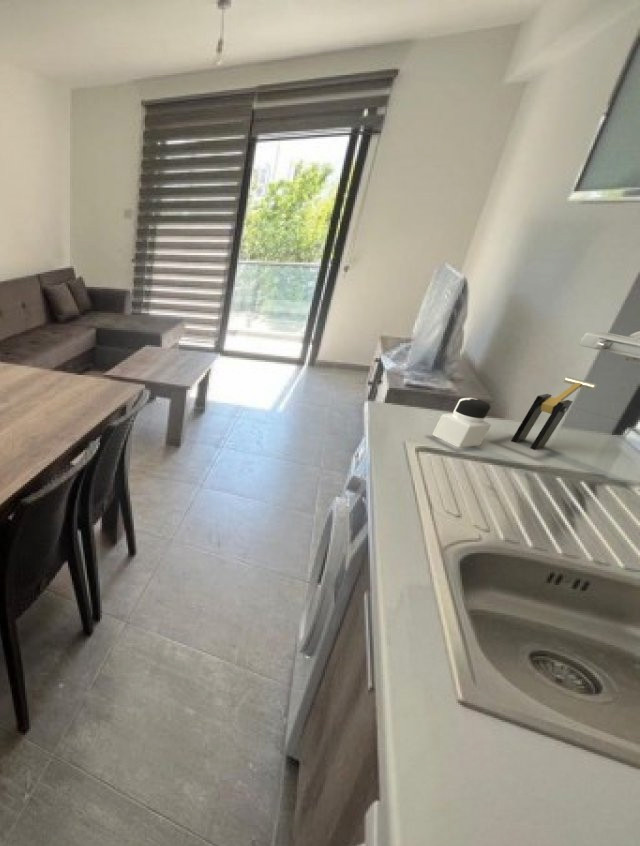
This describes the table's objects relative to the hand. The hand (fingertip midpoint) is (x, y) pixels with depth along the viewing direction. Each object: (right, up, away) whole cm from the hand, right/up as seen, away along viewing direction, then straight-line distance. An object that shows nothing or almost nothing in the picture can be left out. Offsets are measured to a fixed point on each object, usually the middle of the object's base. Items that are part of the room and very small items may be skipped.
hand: (623, 351), depth 119 cm
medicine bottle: (-40, -23, +3) cm, 46 cm away
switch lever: (-17, -12, -2) cm, 21 cm away
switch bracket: (-22, -24, +3) cm, 33 cm away
